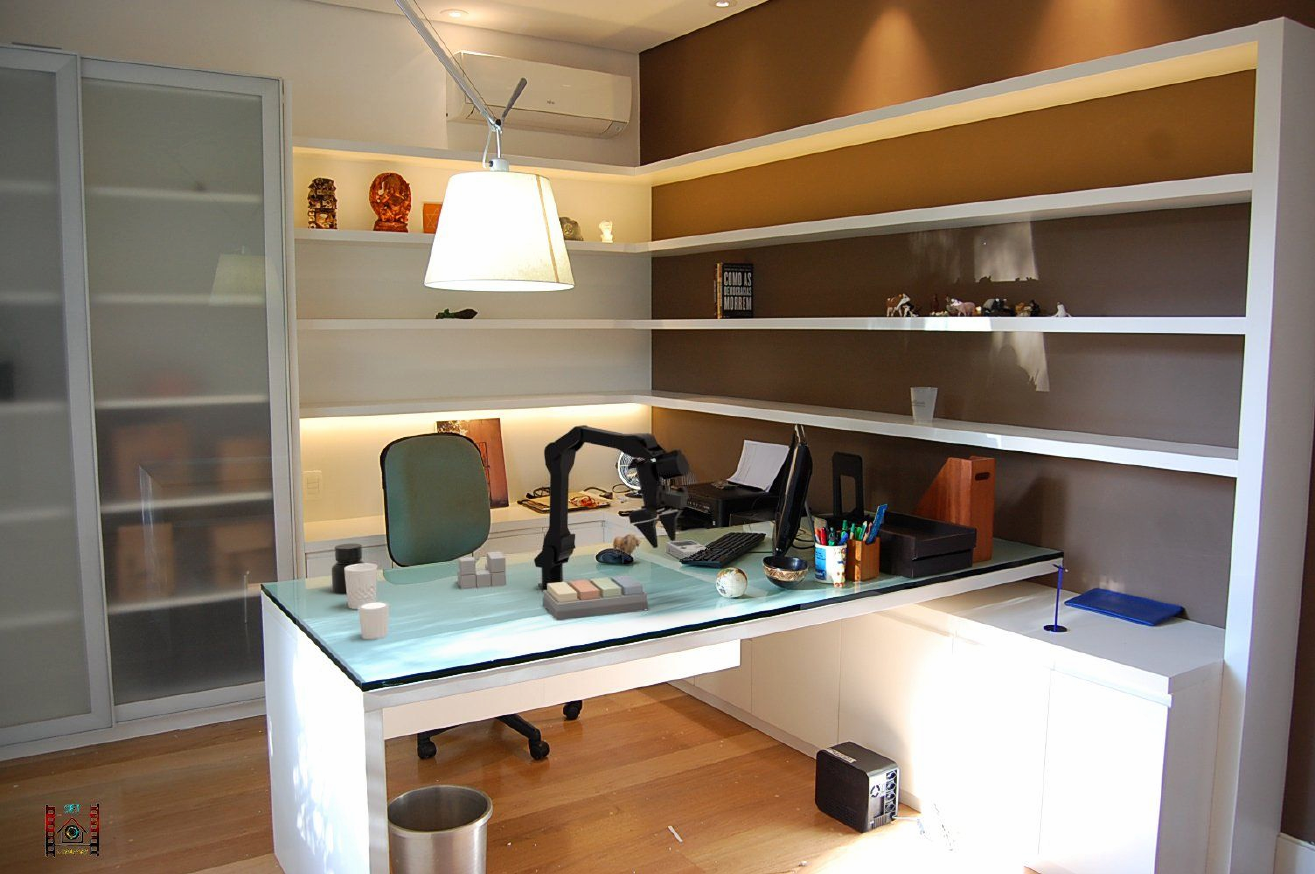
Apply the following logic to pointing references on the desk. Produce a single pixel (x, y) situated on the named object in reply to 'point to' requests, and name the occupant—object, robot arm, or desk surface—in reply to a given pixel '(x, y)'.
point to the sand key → (561, 592)
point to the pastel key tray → (594, 606)
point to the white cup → (361, 584)
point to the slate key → (628, 585)
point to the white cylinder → (374, 619)
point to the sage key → (606, 587)
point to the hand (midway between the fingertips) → (664, 544)
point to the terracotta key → (584, 590)
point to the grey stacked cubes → (482, 572)
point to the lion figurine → (626, 543)
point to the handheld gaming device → (683, 548)
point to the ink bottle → (344, 564)
